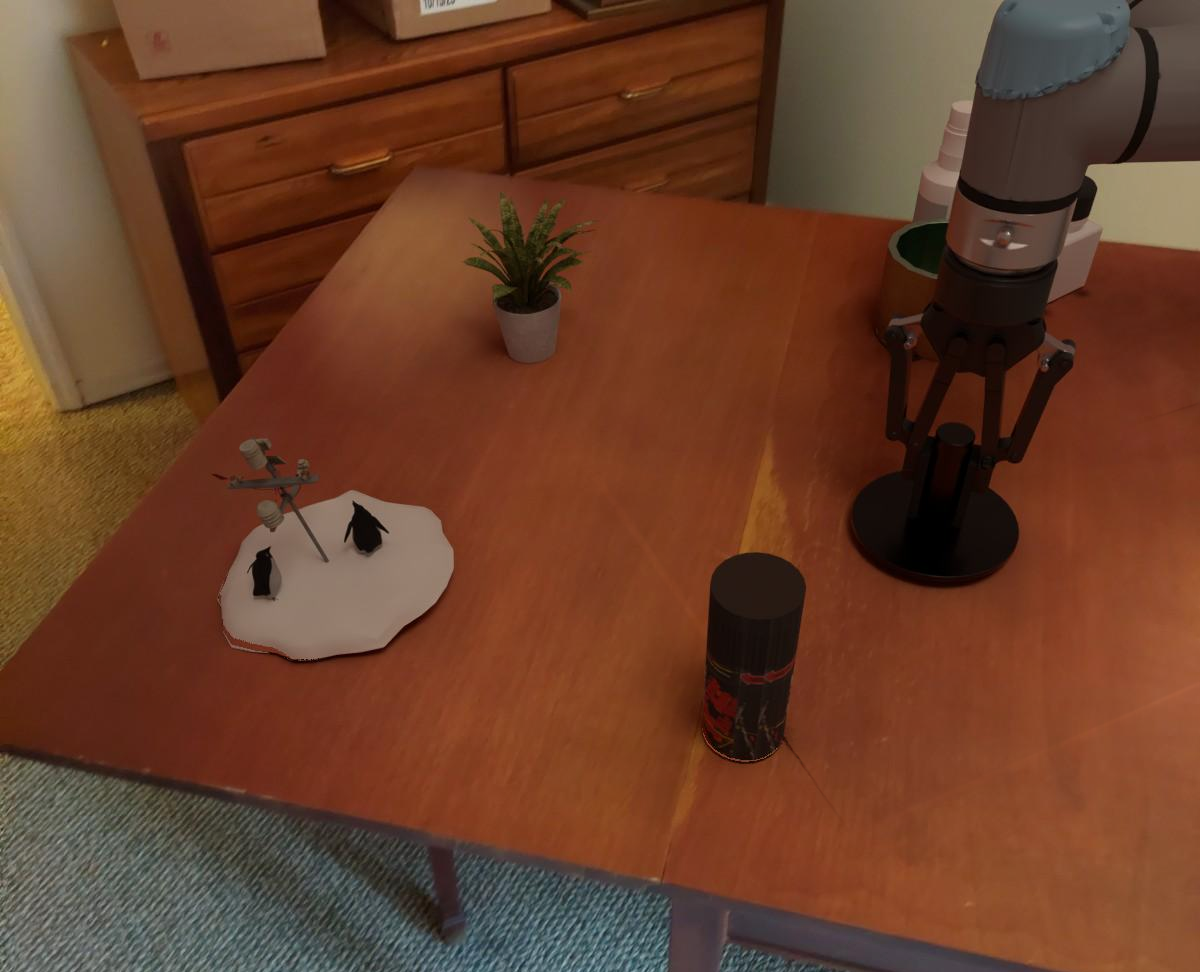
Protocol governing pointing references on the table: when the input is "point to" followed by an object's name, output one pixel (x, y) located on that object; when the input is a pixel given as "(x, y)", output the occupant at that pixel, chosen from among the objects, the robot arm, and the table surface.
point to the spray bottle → (944, 167)
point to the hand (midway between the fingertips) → (936, 512)
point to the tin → (911, 277)
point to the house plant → (528, 280)
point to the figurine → (330, 568)
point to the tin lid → (936, 518)
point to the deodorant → (750, 654)
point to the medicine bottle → (1077, 245)
